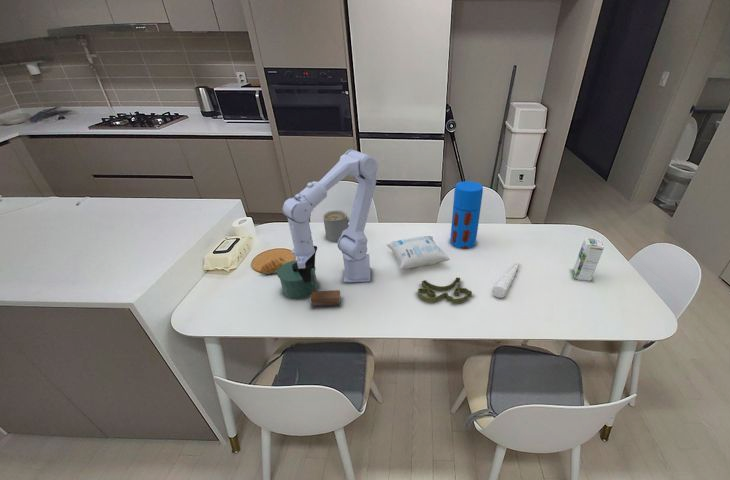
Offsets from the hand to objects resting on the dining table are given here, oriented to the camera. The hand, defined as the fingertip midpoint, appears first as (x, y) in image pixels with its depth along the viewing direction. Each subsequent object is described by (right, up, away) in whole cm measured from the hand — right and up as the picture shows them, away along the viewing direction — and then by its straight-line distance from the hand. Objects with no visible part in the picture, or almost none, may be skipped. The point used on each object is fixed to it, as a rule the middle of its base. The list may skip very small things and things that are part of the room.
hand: (309, 274), depth 114 cm
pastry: (-18, +2, +19) cm, 26 cm away
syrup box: (+97, 0, +17) cm, 98 cm away
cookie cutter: (+45, -7, +8) cm, 46 cm away
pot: (-6, -5, +10) cm, 12 cm away
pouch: (+36, +6, +25) cm, 44 cm away
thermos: (+55, +14, +36) cm, 68 cm away
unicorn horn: (+68, -2, +14) cm, 69 cm away
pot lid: (-6, +1, +5) cm, 8 cm away
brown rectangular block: (+5, -10, +3) cm, 11 cm away
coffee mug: (+3, +18, +40) cm, 44 cm away
